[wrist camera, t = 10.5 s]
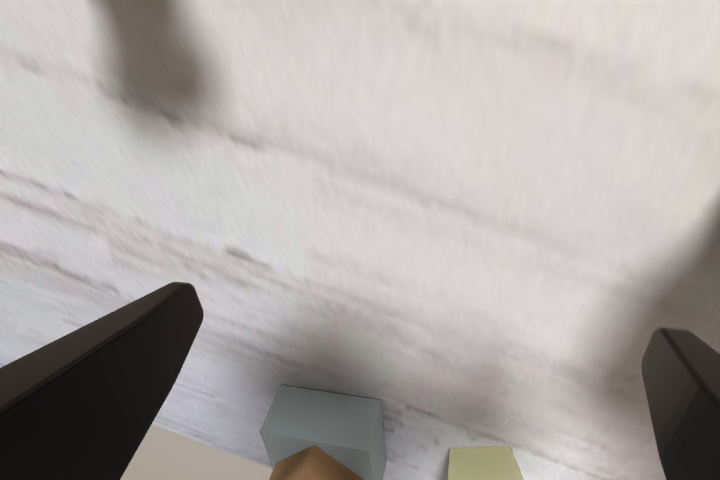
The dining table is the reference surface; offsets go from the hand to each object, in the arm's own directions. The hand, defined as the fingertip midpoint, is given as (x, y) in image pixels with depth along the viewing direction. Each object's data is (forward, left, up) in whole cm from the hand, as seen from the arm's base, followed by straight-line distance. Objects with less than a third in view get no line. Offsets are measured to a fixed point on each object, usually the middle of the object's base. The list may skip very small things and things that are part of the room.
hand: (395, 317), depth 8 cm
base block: (+8, +25, -13) cm, 29 cm away
